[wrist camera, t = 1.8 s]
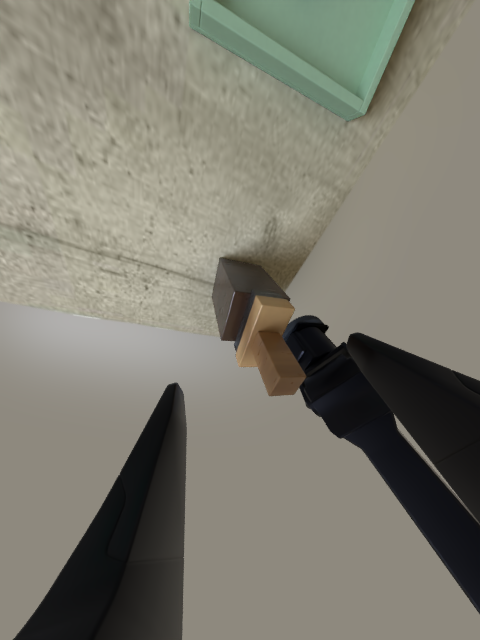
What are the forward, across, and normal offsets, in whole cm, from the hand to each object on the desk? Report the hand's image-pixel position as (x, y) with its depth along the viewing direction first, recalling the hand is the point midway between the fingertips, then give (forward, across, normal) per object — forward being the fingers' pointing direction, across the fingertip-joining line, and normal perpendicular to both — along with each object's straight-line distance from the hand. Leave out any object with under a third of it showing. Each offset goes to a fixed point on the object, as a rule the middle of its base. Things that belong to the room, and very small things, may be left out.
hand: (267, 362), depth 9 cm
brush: (+6, -1, +2) cm, 7 cm away
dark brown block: (+14, -1, +2) cm, 15 cm away
